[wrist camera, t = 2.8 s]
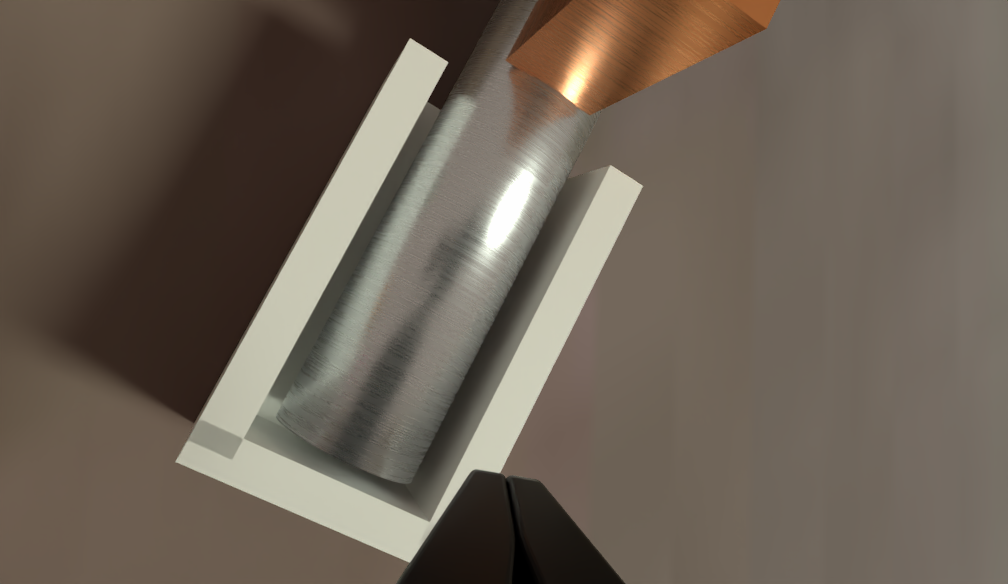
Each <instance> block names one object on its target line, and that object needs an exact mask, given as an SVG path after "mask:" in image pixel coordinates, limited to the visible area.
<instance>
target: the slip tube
mask: <svg viewBox="0 0 1008 584" xmlns="http://www.w3.org/2000/svg"><path fill="white" fill-rule="evenodd" d="M779 2H780V0H500V2H499V4H498V6H497V7H496V9H495V11H494V13H493V15H492V17H491V19H490V20H489V22H488V24H487V26H486V28H485V30H484V31H483V33H482V35H481V37H480V39H479V41H478V43H477V44H476V46H475V48H474V50H473V52H472V54H471V56H470V57H469V59H468V61H467V63H466V65H465V67H464V68H463V70H462V72H461V74H460V76H459V78H458V80H457V81H456V83H455V85H454V87H453V89H452V91H451V92H450V94H449V96H448V98H447V100H446V102H445V104H444V105H443V107H442V109H441V111H440V113H439V115H438V116H437V118H436V120H435V122H434V124H433V126H432V128H431V129H430V131H429V133H428V135H427V137H426V139H425V141H424V142H423V144H422V146H421V148H420V150H419V152H418V153H417V155H416V157H415V159H414V161H413V163H412V165H411V166H410V168H409V170H408V172H407V174H406V176H405V177H404V179H403V181H402V183H401V185H400V187H399V189H398V190H397V192H396V194H395V196H394V198H393V200H392V201H391V203H390V205H389V207H388V209H387V211H386V213H385V214H384V216H383V218H382V220H381V222H380V224H379V226H378V227H377V229H376V231H375V233H374V235H373V237H372V238H371V240H370V242H369V244H368V246H367V248H366V250H365V251H364V253H363V255H362V257H361V259H360V261H359V262H358V264H357V266H356V268H355V270H354V272H353V274H352V275H351V277H350V279H349V281H348V283H347V285H346V286H345V288H344V290H343V292H342V294H341V296H340V298H339V299H338V301H337V303H336V305H335V307H334V309H333V311H332V312H331V314H330V316H329V318H328V320H327V322H326V323H325V325H324V327H323V329H322V331H321V333H320V335H319V336H318V338H317V340H316V342H315V344H314V346H313V347H312V349H311V351H310V353H309V355H308V357H307V359H306V360H305V362H304V364H303V366H302V368H301V370H300V371H299V373H298V375H297V377H296V379H295V381H294V383H293V384H292V386H291V388H290V390H289V392H288V394H287V396H286V397H285V399H284V401H283V403H282V405H281V407H280V408H279V410H278V412H277V414H276V418H277V420H278V421H279V422H280V423H281V424H282V425H283V426H285V427H286V428H287V429H288V430H290V431H291V432H293V433H294V434H296V435H297V436H299V437H300V438H302V439H303V440H305V441H307V442H308V443H310V444H312V445H313V446H315V447H317V448H319V449H321V450H322V451H324V452H326V453H328V454H330V455H332V456H334V457H336V458H338V459H340V460H342V461H344V462H346V463H348V464H350V465H352V466H355V467H357V468H359V469H361V470H364V471H366V472H368V473H371V474H373V475H376V476H379V477H381V478H384V479H387V480H391V481H394V482H398V483H403V484H410V483H411V482H412V480H413V478H414V476H415V474H416V472H417V470H418V468H419V466H420V465H421V463H422V461H423V459H424V457H425V455H426V453H427V451H428V449H429V447H430V445H431V443H432V441H433V439H434V437H435V435H436V433H437V431H438V429H439V427H440V426H441V424H442V422H443V420H444V418H445V416H446V414H447V412H448V410H449V408H450V406H451V404H452V402H453V400H454V398H455V396H456V394H457V392H458V390H459V388H460V387H461V385H462V383H463V381H464V379H465V377H466V375H467V373H468V371H469V369H470V367H471V365H472V363H473V361H474V359H475V357H476V355H477V353H478V351H479V349H480V347H481V346H482V344H483V342H484V340H485V338H486V336H487V334H488V332H489V330H490V328H491V326H492V324H493V322H494V320H495V318H496V316H497V314H498V312H499V310H500V308H501V307H502V305H503V303H504V301H505V299H506V297H507V295H508V293H509V291H510V289H511V287H512V285H513V283H514V281H515V279H516V277H517V275H518V273H519V271H520V269H521V268H522V266H523V264H524V262H525V260H526V258H527V256H528V254H529V252H530V250H531V248H532V246H533V244H534V242H535V240H536V238H537V236H538V234H539V232H540V230H541V229H542V227H543V225H544V223H545V221H546V219H547V217H548V215H549V213H550V211H551V209H552V207H553V205H554V203H555V201H556V199H557V197H558V195H559V193H560V191H561V190H562V188H563V186H564V184H565V182H566V180H567V178H568V176H569V174H570V172H571V170H572V168H573V166H574V164H575V162H576V160H577V158H578V156H579V154H580V152H581V150H582V149H583V147H584V145H585V143H586V141H587V139H588V137H589V135H590V133H591V131H592V129H593V127H594V125H595V123H596V121H597V119H598V117H599V115H600V113H601V111H602V110H603V109H604V108H606V107H608V106H610V105H612V104H614V103H616V102H618V101H620V100H622V99H624V98H626V97H628V96H630V95H632V94H634V93H636V92H638V91H640V90H642V89H644V88H647V87H649V86H651V85H653V84H655V83H657V82H659V81H661V80H663V79H665V78H667V77H669V76H671V75H673V74H675V73H677V72H679V71H681V70H683V69H685V68H687V67H689V66H691V65H693V64H695V63H697V62H699V61H702V60H704V59H706V58H708V57H710V56H712V55H714V54H716V53H718V52H720V51H722V50H724V49H726V48H728V47H730V46H732V45H734V44H736V43H738V42H740V41H742V40H744V39H746V38H748V37H750V36H752V35H754V34H757V33H759V32H761V31H763V30H765V29H767V27H768V24H769V22H770V20H771V18H772V16H773V14H774V12H775V10H776V8H777V6H778V4H779Z"/></svg>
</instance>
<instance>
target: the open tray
mask: <svg viewBox="0 0 1008 584" xmlns="http://www.w3.org/2000/svg"><path fill="white" fill-rule="evenodd" d="M447 64H448V62H447V61H445V60H444V59H442V58H441V57H439V56H438V55H436V54H434V53H433V52H431V51H430V50H428V49H427V48H425V47H423V46H422V45H420V44H419V43H417V42H416V41H414V40H412V39H411V38H410V39H409V41H408V42H407V44H406V46H405V47H404V49H403V51H402V52H401V54H400V56H399V57H398V59H397V60H396V62H395V64H394V65H393V67H392V69H391V70H390V72H389V74H388V75H387V77H386V78H385V80H384V82H383V83H382V85H381V87H380V89H379V91H378V92H377V94H376V96H375V98H374V100H373V101H372V103H371V105H370V107H369V109H368V110H367V112H366V114H365V116H364V118H363V119H362V121H361V123H360V125H359V127H358V128H357V130H356V132H355V134H354V136H353V137H352V139H351V141H350V143H349V145H348V147H347V148H346V150H345V152H344V154H343V156H342V157H341V159H340V161H339V163H338V165H337V166H336V168H335V170H334V172H333V174H332V175H331V177H330V179H329V181H328V183H327V184H326V186H325V188H324V190H323V192H322V193H321V195H320V197H319V199H318V201H317V202H316V204H315V206H314V208H313V210H312V211H311V213H310V215H309V217H308V219H307V220H306V222H305V224H304V226H303V228H302V230H301V231H300V233H299V235H298V237H297V239H296V240H295V242H294V244H293V246H292V248H291V249H290V251H289V253H288V255H287V257H286V258H285V260H284V262H283V264H282V266H281V267H280V269H279V271H278V273H277V275H276V276H275V278H274V280H273V282H272V284H271V285H270V287H269V289H268V291H267V293H266V294H265V296H264V298H263V300H262V302H261V304H260V305H259V307H258V309H257V311H256V313H255V314H254V316H253V318H252V320H251V322H250V323H249V325H248V327H247V329H246V331H245V332H244V334H243V336H242V338H241V340H240V341H239V343H238V345H237V347H236V349H235V350H234V352H233V354H232V356H231V358H230V359H229V361H228V363H227V365H226V367H225V368H224V370H223V372H222V374H221V376H220V377H219V379H218V381H217V383H216V385H215V387H214V388H213V390H212V392H211V394H210V396H209V397H208V399H207V401H206V403H205V405H204V406H203V408H202V410H201V412H200V414H199V415H198V417H197V419H196V421H195V423H194V425H193V427H192V429H191V431H190V433H189V435H188V437H187V439H186V441H185V443H184V445H183V447H182V449H181V452H180V454H179V456H178V458H177V460H176V462H177V463H179V464H182V465H184V466H186V467H189V468H191V469H193V470H196V471H198V472H200V473H203V474H205V475H207V476H210V477H212V478H214V479H216V480H219V481H221V482H223V483H226V484H228V485H230V486H233V487H235V488H237V489H240V490H242V491H244V492H247V493H249V494H251V495H254V496H256V497H258V498H261V499H263V500H265V501H268V502H270V503H272V504H275V505H277V506H279V507H282V508H284V509H286V510H289V511H291V512H293V513H296V514H298V515H300V516H303V517H305V518H307V519H310V520H312V521H314V522H317V523H319V524H321V525H324V526H326V527H328V528H331V529H333V530H335V531H337V532H340V533H342V534H344V535H347V536H349V537H351V538H354V539H356V540H358V541H361V542H363V543H365V544H368V545H370V546H372V547H375V548H377V549H379V550H382V551H384V552H386V553H389V554H391V555H393V556H396V557H398V558H400V559H403V560H405V561H407V562H411V560H412V559H413V557H414V556H415V554H416V553H417V551H418V550H419V548H420V547H421V545H422V544H423V542H424V541H425V539H426V538H427V536H428V535H429V533H430V532H431V530H432V529H433V527H434V526H435V524H436V523H437V521H438V520H439V518H440V517H441V515H442V514H443V512H444V511H445V509H446V508H447V506H448V505H449V503H450V502H451V500H452V499H453V497H454V496H455V494H456V493H457V491H458V490H459V488H460V487H461V485H462V484H463V482H464V481H465V479H466V478H467V476H468V475H469V473H470V472H471V471H472V470H475V469H478V470H484V471H490V472H496V473H500V472H501V470H502V468H503V466H504V464H505V462H506V460H507V458H508V456H509V454H510V452H511V450H512V448H513V446H514V444H515V442H516V440H517V438H518V436H519V434H520V432H521V430H522V428H523V426H524V424H525V422H526V420H527V418H528V416H529V414H530V412H531V410H532V408H533V406H534V404H535V402H536V400H537V398H538V396H539V394H540V392H541V390H542V388H543V386H544V384H545V382H546V380H547V378H548V376H549V374H550V372H551V369H552V367H553V365H554V363H555V361H556V359H557V357H558V355H559V353H560V351H561V349H562V347H563V345H564V343H565V341H566V339H567V337H568V335H569V333H570V331H571V329H572V327H573V325H574V323H575V321H576V319H577V317H578V315H579V313H580V311H581V309H582V307H583V305H584V303H585V301H586V299H587V297H588V295H589V293H590V291H591V289H592V287H593V285H594V283H595V281H596V279H597V277H598V275H599V273H600V271H601V269H602V267H603V265H604V263H605V261H606V259H607V257H608V255H609V253H610V251H611V249H612V247H613V245H614V243H615V241H616V239H617V237H618V235H619V233H620V231H621V229H622V227H623V225H624V223H625V221H626V219H627V217H628V215H629V213H630V211H631V209H632V207H633V205H634V203H635V201H636V199H637V197H638V195H639V193H640V191H641V189H642V187H643V186H642V185H641V184H639V183H638V182H636V181H635V180H633V179H631V178H630V177H628V176H627V175H625V174H623V173H622V172H620V171H619V170H617V169H616V168H614V167H612V166H611V165H610V166H607V167H604V168H600V169H597V170H594V171H591V172H588V173H585V174H581V175H578V176H575V177H572V178H569V179H567V180H566V182H565V184H564V186H563V188H562V190H561V191H560V193H559V195H558V197H557V199H556V201H555V203H554V205H553V207H552V209H551V211H550V213H549V215H548V217H547V219H546V221H545V223H544V225H543V227H542V229H541V230H540V232H539V234H538V236H537V238H536V240H535V242H534V244H533V246H532V248H531V250H530V252H529V254H528V256H527V258H526V260H525V262H524V264H523V266H522V268H521V269H520V271H519V273H518V275H517V277H516V279H515V281H514V283H513V285H512V287H511V289H510V291H509V293H508V295H507V297H506V299H505V301H504V303H503V305H502V307H501V308H500V310H499V312H498V314H497V316H496V318H495V320H494V322H493V324H492V326H491V328H490V330H489V332H488V334H487V336H486V338H485V340H484V342H483V344H482V346H481V347H480V349H479V351H478V353H477V355H476V357H475V359H474V361H473V363H472V365H471V367H470V369H469V371H468V373H467V375H466V377H465V379H464V381H463V383H462V385H461V387H460V388H459V390H458V392H457V394H456V396H455V398H454V400H453V402H452V404H451V406H450V408H449V410H448V412H447V414H446V416H445V418H444V420H443V422H442V424H441V426H440V427H439V429H438V431H437V433H436V435H435V437H434V439H433V441H432V443H431V445H430V447H429V449H428V451H427V453H426V455H425V457H424V459H423V461H422V463H421V465H420V466H419V468H418V470H417V472H416V474H415V476H414V478H413V480H412V482H411V483H410V484H403V483H398V482H394V481H391V480H387V479H384V478H381V477H379V476H376V475H373V474H371V473H368V472H366V471H364V470H361V469H359V468H357V467H355V466H352V465H350V464H348V463H346V462H344V461H342V460H340V459H338V458H336V457H334V456H332V455H330V454H328V453H326V452H324V451H322V450H321V449H319V448H317V447H315V446H313V445H312V444H310V443H308V442H307V441H305V440H303V439H302V438H300V437H299V436H297V435H296V434H294V433H293V432H291V431H290V430H288V429H287V428H286V427H285V426H283V425H282V424H281V423H280V422H279V421H278V420H277V418H276V414H277V412H278V410H279V408H280V407H281V405H282V403H283V401H284V399H285V397H286V396H287V394H288V392H289V390H290V388H291V386H292V384H293V383H294V381H295V379H296V377H297V375H298V373H299V371H300V370H301V368H302V366H303V364H304V362H305V360H306V359H307V357H308V355H309V353H310V351H311V349H312V347H313V346H314V344H315V342H316V340H317V338H318V336H319V335H320V333H321V331H322V329H323V327H324V325H325V323H326V322H327V320H328V318H329V316H330V314H331V312H332V311H333V309H334V307H335V305H336V303H337V301H338V299H339V298H340V296H341V294H342V292H343V290H344V288H345V286H346V285H347V283H348V281H349V279H350V277H351V275H352V274H353V272H354V270H355V268H356V266H357V264H358V262H359V261H360V259H361V257H362V255H363V253H364V251H365V250H366V248H367V246H368V244H369V242H370V240H371V238H372V237H373V235H374V233H375V231H376V229H377V227H378V226H379V224H380V222H381V220H382V218H383V216H384V214H385V213H386V211H387V209H388V207H389V205H390V203H391V201H392V200H393V198H394V196H395V194H396V192H397V190H398V189H399V187H400V185H401V183H402V181H403V179H404V177H405V176H406V174H407V172H408V170H409V168H410V166H411V165H412V163H413V161H414V159H415V157H416V155H417V153H418V152H419V150H420V148H421V146H422V144H423V142H424V141H425V139H426V137H427V135H428V133H429V131H430V129H431V128H432V126H433V124H434V122H435V120H436V118H437V116H438V115H439V113H440V111H441V110H440V109H438V108H437V107H435V106H433V105H432V104H430V103H429V102H427V101H428V99H429V97H430V95H431V93H432V92H433V90H434V88H435V86H436V84H437V82H438V81H439V79H440V77H441V75H442V73H443V71H444V70H445V68H446V66H447Z"/></svg>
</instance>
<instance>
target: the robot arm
mask: <svg viewBox="0 0 1008 584" xmlns="http://www.w3.org/2000/svg"><path fill="white" fill-rule="evenodd" d="M396 584H625V583H624V582H623V580H622V579H621V578H620V577H619V575H618V574H617V573H616V572H615V571H614V569H613V568H612V567H611V566H610V565H609V563H608V562H607V561H606V560H605V559H604V557H603V556H602V555H601V554H600V553H599V551H598V550H597V549H596V548H595V546H594V545H593V544H592V543H591V542H590V540H589V539H588V538H587V537H586V536H585V534H584V533H583V532H582V531H581V530H580V528H579V527H578V526H577V525H576V524H575V522H574V521H573V520H572V519H571V517H570V516H569V515H568V514H567V513H566V511H565V510H564V509H563V508H562V507H561V505H560V504H559V503H558V502H557V501H556V499H555V498H554V497H553V496H552V495H551V493H550V492H549V491H548V490H547V488H546V487H545V486H544V485H543V484H542V483H541V482H540V481H539V480H536V479H531V478H525V477H519V476H513V475H512V476H508V477H507V478H505V476H504V475H503V474H501V473H496V472H490V471H484V470H478V469H475V470H472V471H471V472H470V473H469V475H468V476H467V478H466V479H465V481H464V482H463V484H462V485H461V487H460V488H459V490H458V491H457V493H456V494H455V496H454V497H453V499H452V500H451V502H450V503H449V505H448V506H447V508H446V509H445V511H444V512H443V514H442V515H441V517H440V518H439V520H438V521H437V523H436V524H435V526H434V527H433V529H432V530H431V532H430V533H429V535H428V536H427V538H426V539H425V541H424V542H423V544H422V545H421V547H420V548H419V550H418V551H417V553H416V554H415V556H414V557H413V559H412V560H411V562H410V563H409V565H408V566H407V568H406V569H405V571H404V572H403V574H402V575H401V577H400V578H399V580H398V581H397V583H396Z"/></svg>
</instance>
